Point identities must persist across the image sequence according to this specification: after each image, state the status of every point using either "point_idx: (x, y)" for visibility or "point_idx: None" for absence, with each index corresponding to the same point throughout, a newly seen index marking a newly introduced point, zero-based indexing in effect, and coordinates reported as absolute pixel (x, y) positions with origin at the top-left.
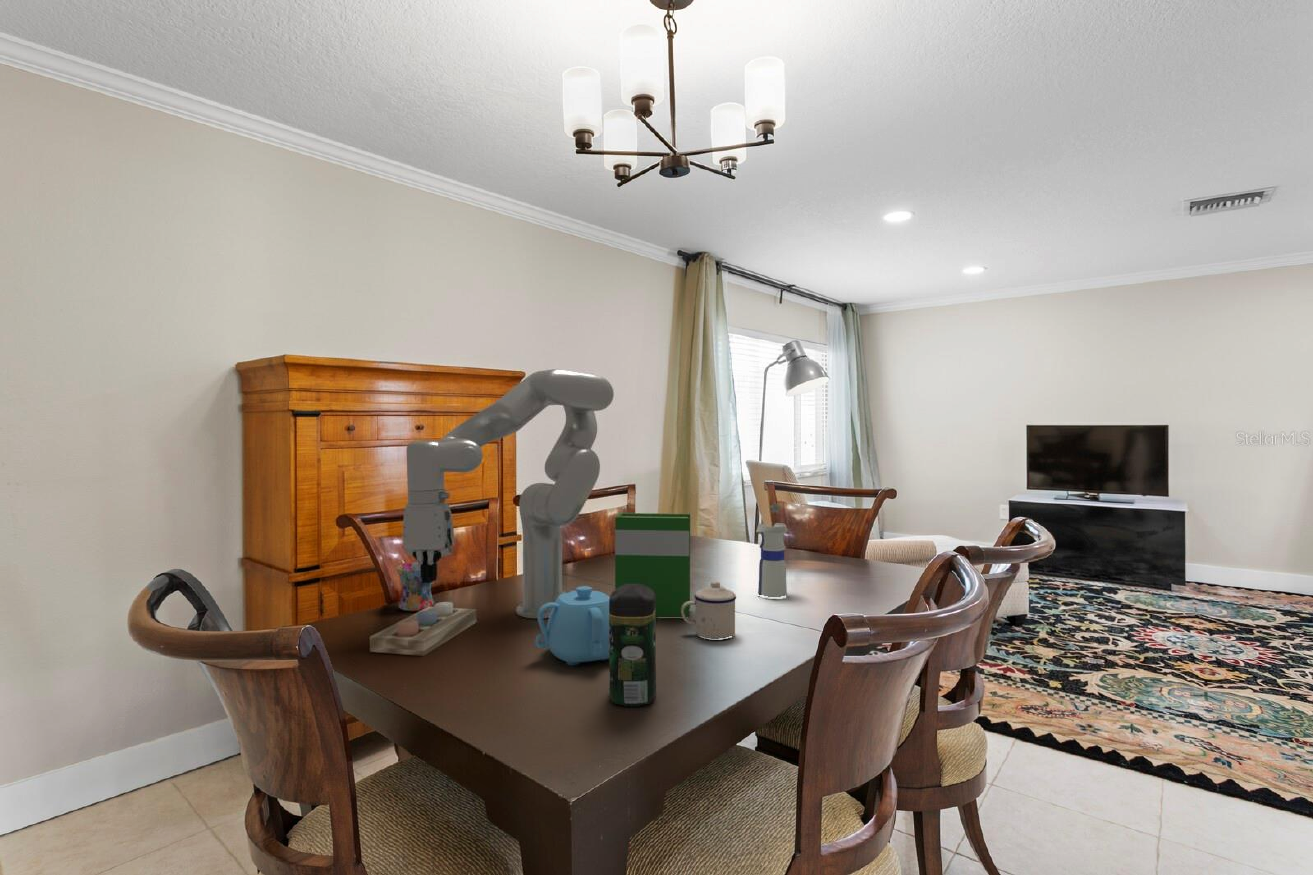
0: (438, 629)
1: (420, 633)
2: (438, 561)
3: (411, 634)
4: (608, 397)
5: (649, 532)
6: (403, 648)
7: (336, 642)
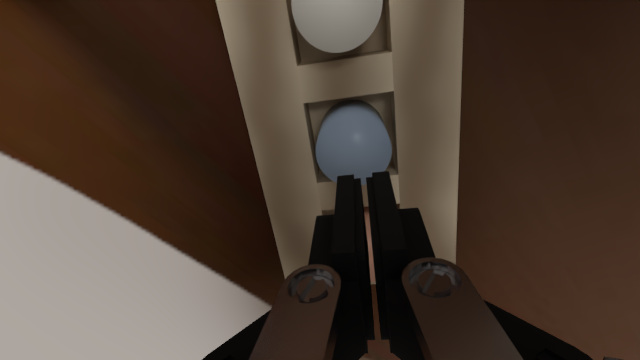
0: (443, 192)
1: None
2: (449, 262)
3: None
4: None
5: None
6: None
7: (161, 237)
